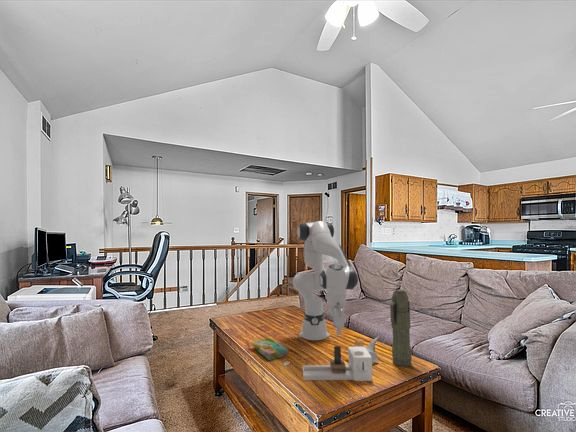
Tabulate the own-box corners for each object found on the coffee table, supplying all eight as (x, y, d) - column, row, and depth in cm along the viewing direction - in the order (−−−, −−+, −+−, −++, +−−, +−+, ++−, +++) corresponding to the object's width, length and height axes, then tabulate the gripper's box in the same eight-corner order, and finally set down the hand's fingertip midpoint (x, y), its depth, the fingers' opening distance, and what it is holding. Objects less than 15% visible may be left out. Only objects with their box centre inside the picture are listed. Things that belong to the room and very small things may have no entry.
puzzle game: (267, 352, 154) (251, 340, 171) (267, 362, 154) (251, 349, 171) (287, 347, 160) (269, 336, 177) (287, 356, 160) (269, 344, 177)
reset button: (354, 343, 142) (353, 338, 142) (362, 342, 142) (362, 338, 142) (355, 346, 138) (355, 341, 138) (364, 346, 138) (364, 341, 138)
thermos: (386, 363, 150) (384, 291, 152) (401, 357, 157) (399, 288, 158) (402, 369, 143) (400, 294, 144) (417, 363, 150) (414, 291, 151)
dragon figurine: (353, 351, 166) (351, 334, 166) (382, 353, 160) (379, 335, 160) (347, 365, 153) (345, 347, 152) (379, 368, 147) (376, 348, 146)
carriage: (330, 365, 143) (329, 344, 143) (343, 365, 143) (342, 344, 143) (332, 372, 136) (331, 350, 136) (345, 372, 136) (345, 350, 136)
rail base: (302, 368, 145) (302, 347, 146) (365, 368, 145) (365, 346, 145) (303, 382, 132) (303, 358, 133) (372, 381, 132) (372, 358, 133)
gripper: (347, 306, 130) (348, 339, 130) (339, 295, 151) (340, 323, 150) (332, 306, 130) (333, 339, 130) (327, 295, 151) (327, 323, 150)
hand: (337, 330), depth 140 cm, fingers open, 8 cm apart
